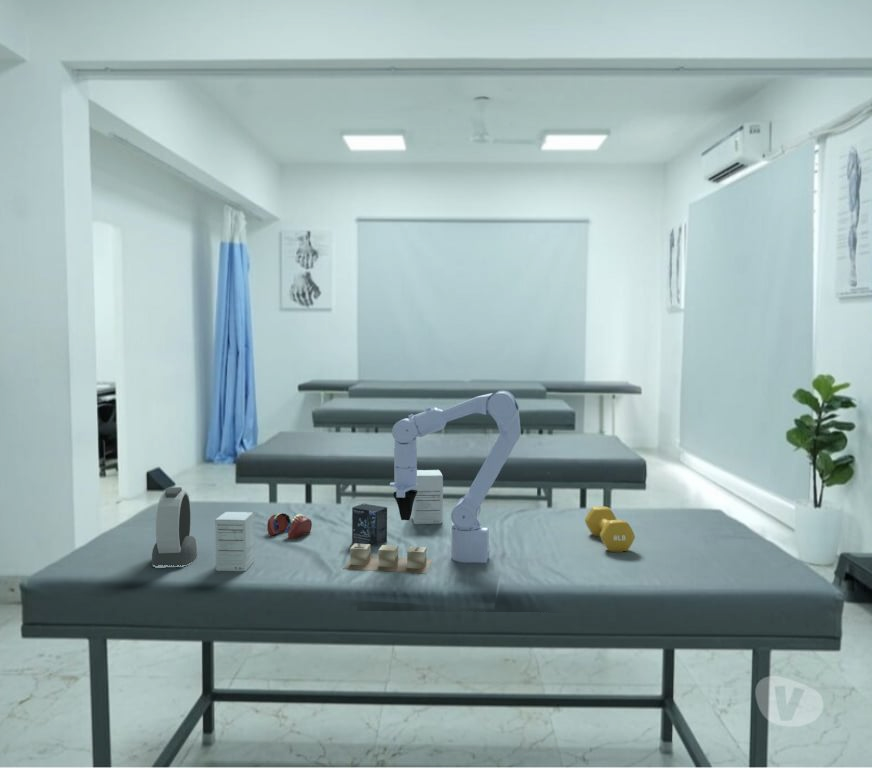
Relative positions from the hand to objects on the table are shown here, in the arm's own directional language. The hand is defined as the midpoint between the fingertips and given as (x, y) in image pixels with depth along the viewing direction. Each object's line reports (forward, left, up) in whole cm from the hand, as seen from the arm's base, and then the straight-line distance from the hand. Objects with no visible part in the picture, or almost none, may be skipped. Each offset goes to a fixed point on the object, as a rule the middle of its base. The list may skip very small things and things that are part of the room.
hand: (405, 519), depth 171 cm
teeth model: (+37, -16, -10) cm, 41 cm away
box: (+12, -9, -10) cm, 18 cm away
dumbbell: (-53, -23, -10) cm, 58 cm away
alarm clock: (+57, +11, -10) cm, 59 cm away
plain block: (+3, +8, -9) cm, 12 cm away
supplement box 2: (+1, -37, -10) cm, 38 cm away
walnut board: (+3, +8, -10) cm, 13 cm away
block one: (-4, +8, -9) cm, 13 cm away
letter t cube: (+10, +8, -9) cm, 15 cm away
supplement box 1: (+40, +13, -10) cm, 43 cm away
